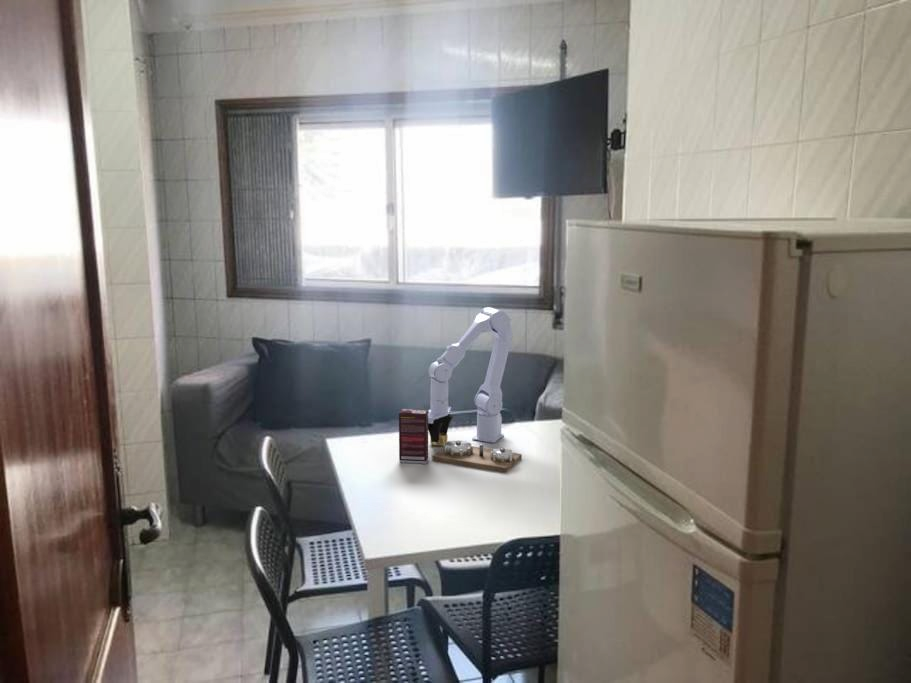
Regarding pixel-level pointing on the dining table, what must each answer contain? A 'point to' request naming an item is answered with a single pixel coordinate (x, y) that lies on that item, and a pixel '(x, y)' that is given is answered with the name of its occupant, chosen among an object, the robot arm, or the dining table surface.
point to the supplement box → (413, 436)
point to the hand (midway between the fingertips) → (438, 439)
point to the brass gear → (440, 439)
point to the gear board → (477, 456)
